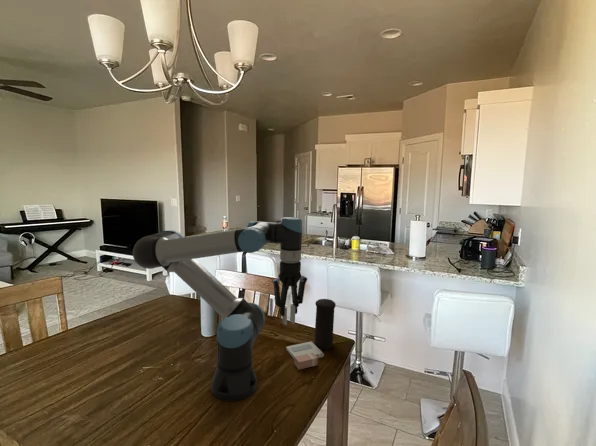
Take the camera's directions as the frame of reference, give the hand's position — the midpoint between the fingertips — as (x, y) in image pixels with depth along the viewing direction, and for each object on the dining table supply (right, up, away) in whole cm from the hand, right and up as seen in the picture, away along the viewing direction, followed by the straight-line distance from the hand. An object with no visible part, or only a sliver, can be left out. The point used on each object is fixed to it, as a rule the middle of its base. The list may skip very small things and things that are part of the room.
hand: (288, 322), depth 118 cm
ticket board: (+6, -17, +14) cm, 23 cm away
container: (+15, -17, +22) cm, 31 cm away
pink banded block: (+7, -18, +6) cm, 20 cm away
